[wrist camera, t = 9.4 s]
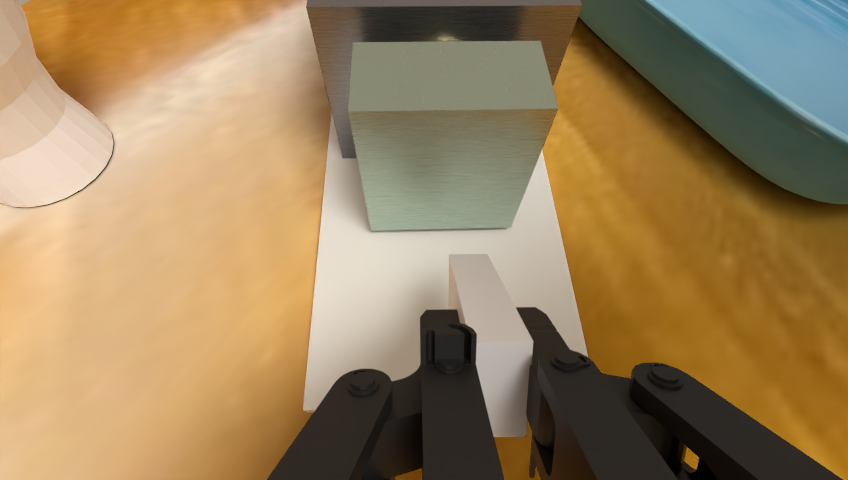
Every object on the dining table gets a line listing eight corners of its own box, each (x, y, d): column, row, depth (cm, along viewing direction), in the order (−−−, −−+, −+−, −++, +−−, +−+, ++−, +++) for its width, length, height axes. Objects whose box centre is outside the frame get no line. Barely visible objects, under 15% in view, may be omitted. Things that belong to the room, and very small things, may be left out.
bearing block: (528, 155, 27) (582, 5, 18) (342, 158, 27) (306, 6, 18) (507, 53, 32) (542, -105, 23) (350, 54, 31) (324, -105, 23)
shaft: (510, 227, 24) (558, 108, 16) (371, 230, 23) (347, 111, 16) (479, 30, 32) (500, -111, 24) (376, 31, 32) (363, -112, 24)
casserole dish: (493, -27, 39) (508, -121, 33) (670, -78, 44) (712, -168, 38) (833, 305, 24) (983, 248, 17) (1044, 167, 29) (1219, 85, 23)
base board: (590, 402, 21) (597, 399, 20) (307, 412, 20) (302, 410, 19) (516, 59, 33) (519, 48, 32) (339, 61, 32) (337, 50, 32)
